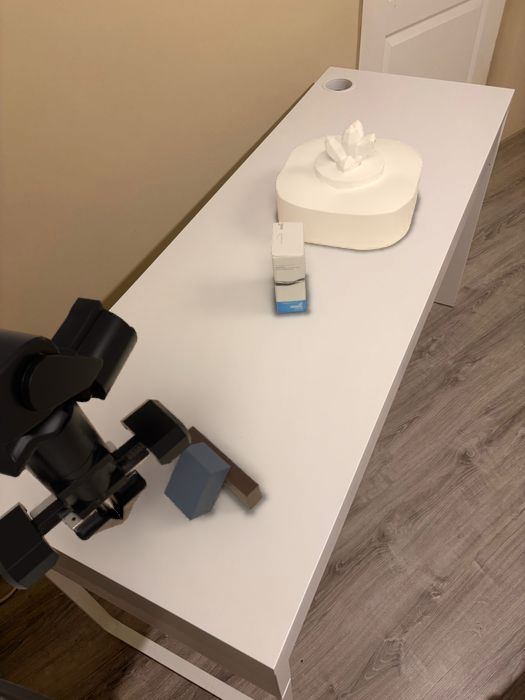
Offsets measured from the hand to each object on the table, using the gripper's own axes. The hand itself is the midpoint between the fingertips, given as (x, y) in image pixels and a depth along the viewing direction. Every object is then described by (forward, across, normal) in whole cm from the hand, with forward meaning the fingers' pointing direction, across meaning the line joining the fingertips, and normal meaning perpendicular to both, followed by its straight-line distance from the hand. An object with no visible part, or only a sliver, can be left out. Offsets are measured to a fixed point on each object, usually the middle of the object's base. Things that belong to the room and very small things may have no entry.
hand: (121, 518), depth 51 cm
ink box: (+9, -42, -15) cm, 46 cm away
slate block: (+6, -9, 0) cm, 11 cm away
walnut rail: (+9, -12, 0) cm, 16 cm away
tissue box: (+9, -67, -23) cm, 71 cm away
